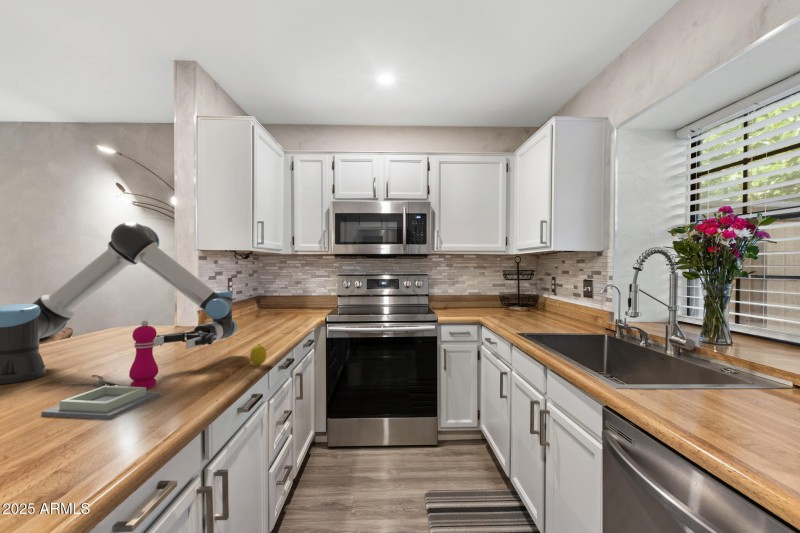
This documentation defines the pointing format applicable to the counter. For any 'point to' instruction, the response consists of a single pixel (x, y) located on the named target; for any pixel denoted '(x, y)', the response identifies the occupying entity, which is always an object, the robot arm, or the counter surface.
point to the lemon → (258, 354)
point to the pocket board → (102, 402)
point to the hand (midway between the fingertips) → (167, 344)
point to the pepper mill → (144, 357)
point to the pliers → (100, 384)
